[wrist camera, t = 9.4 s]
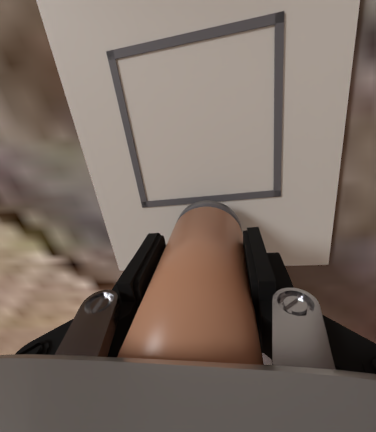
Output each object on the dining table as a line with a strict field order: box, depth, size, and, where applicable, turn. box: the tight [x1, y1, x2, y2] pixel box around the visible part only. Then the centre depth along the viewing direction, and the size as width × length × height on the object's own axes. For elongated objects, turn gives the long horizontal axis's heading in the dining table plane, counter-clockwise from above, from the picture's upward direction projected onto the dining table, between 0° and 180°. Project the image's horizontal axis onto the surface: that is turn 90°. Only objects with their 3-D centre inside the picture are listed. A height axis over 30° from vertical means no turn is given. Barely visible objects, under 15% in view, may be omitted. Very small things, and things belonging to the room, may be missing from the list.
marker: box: [117, 200, 264, 365], centre depth 8 cm, size 4×4×12 cm
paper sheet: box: [36, 0, 360, 270], centre depth 13 cm, size 15×19×1 cm
